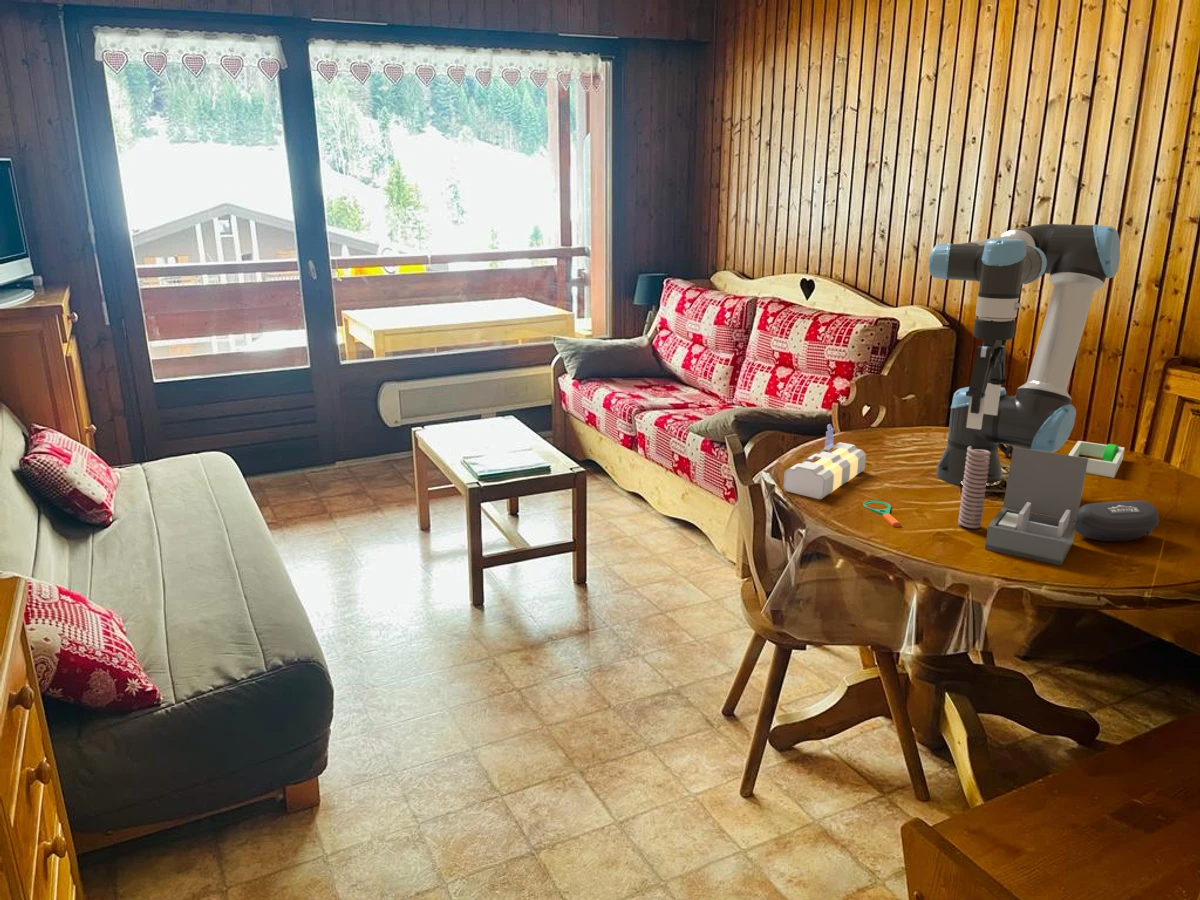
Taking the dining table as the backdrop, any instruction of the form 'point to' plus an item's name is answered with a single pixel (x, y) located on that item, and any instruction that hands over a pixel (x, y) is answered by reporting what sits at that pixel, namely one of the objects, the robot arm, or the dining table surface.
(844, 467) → the white striped block
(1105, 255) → the robot arm
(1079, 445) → the parts corral
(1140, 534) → the glasses case
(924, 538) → the dining table surface
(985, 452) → the coil
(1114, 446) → the mechanical part
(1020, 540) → the case
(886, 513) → the magnifying glass
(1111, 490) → the dining table surface
